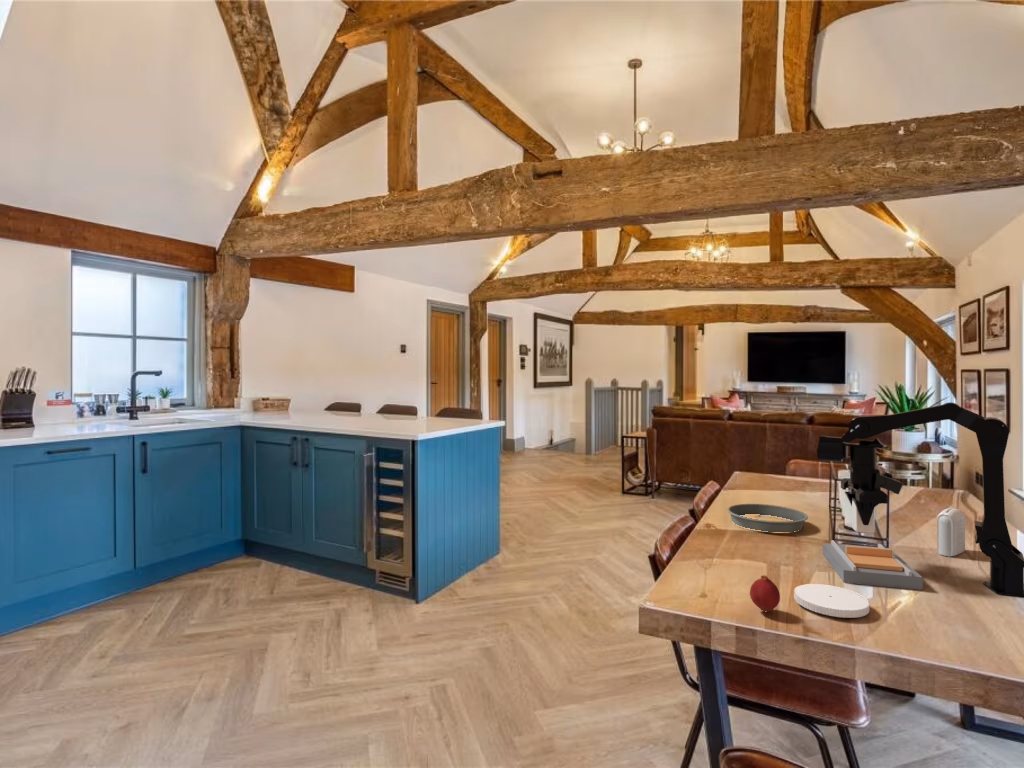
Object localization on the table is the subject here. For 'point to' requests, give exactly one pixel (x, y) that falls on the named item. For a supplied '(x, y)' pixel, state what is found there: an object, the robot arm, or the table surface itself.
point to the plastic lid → (831, 600)
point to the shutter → (872, 558)
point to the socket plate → (870, 570)
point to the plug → (857, 521)
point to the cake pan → (766, 525)
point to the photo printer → (950, 532)
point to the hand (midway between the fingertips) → (863, 522)
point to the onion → (765, 594)
